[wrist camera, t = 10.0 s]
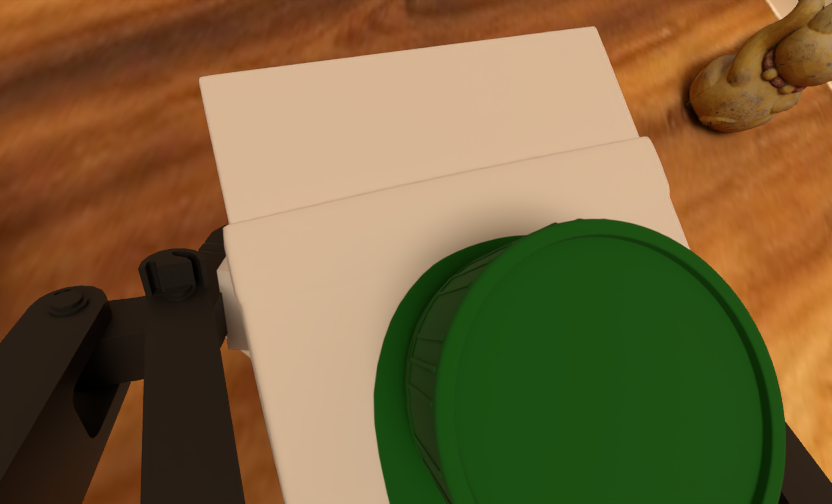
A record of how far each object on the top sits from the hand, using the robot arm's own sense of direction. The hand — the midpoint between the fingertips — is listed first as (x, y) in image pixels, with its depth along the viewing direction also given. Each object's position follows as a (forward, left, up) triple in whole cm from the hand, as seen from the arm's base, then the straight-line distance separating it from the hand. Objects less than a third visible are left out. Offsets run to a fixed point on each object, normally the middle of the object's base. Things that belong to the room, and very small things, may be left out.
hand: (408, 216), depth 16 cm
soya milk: (+2, -3, -9) cm, 10 cm away
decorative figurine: (+19, +43, -23) cm, 52 cm away
